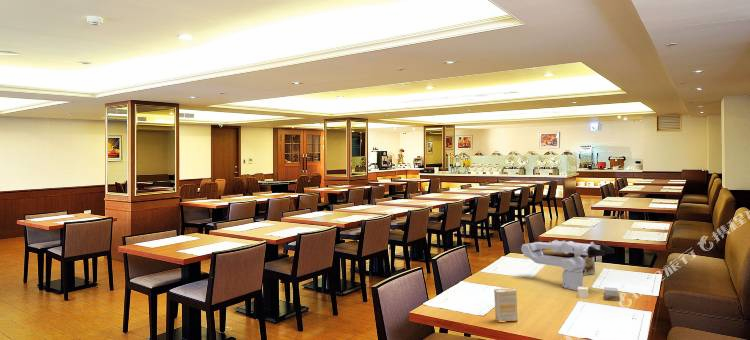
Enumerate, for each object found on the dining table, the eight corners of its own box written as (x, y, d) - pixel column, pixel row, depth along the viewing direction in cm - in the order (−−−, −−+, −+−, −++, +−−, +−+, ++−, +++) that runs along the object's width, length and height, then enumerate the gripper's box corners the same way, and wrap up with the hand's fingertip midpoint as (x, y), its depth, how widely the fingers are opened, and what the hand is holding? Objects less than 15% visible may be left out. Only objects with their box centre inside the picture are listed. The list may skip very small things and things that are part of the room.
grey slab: (605, 295, 228) (604, 290, 228) (604, 292, 233) (604, 287, 233) (618, 296, 226) (618, 291, 226) (617, 293, 231) (617, 288, 231)
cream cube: (578, 298, 233) (577, 288, 233) (578, 295, 237) (577, 286, 237) (588, 298, 231) (588, 289, 231) (588, 296, 236) (588, 287, 236)
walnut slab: (604, 301, 228) (604, 295, 228) (603, 297, 234) (603, 292, 234) (619, 302, 225) (619, 296, 225) (618, 298, 231) (618, 293, 231)
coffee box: (582, 276, 275) (581, 247, 275) (574, 273, 281) (573, 245, 281) (595, 274, 277) (594, 246, 277) (587, 272, 283) (587, 244, 283)
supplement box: (514, 318, 207) (513, 287, 207) (517, 322, 202) (516, 290, 202) (494, 319, 207) (493, 288, 207) (498, 323, 202) (497, 291, 202)
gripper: (574, 243, 241) (599, 245, 230) (592, 239, 249) (617, 242, 237) (575, 257, 241) (600, 260, 230) (593, 253, 249) (618, 256, 237)
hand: (609, 252), depth 234 cm, fingers open, 7 cm apart
